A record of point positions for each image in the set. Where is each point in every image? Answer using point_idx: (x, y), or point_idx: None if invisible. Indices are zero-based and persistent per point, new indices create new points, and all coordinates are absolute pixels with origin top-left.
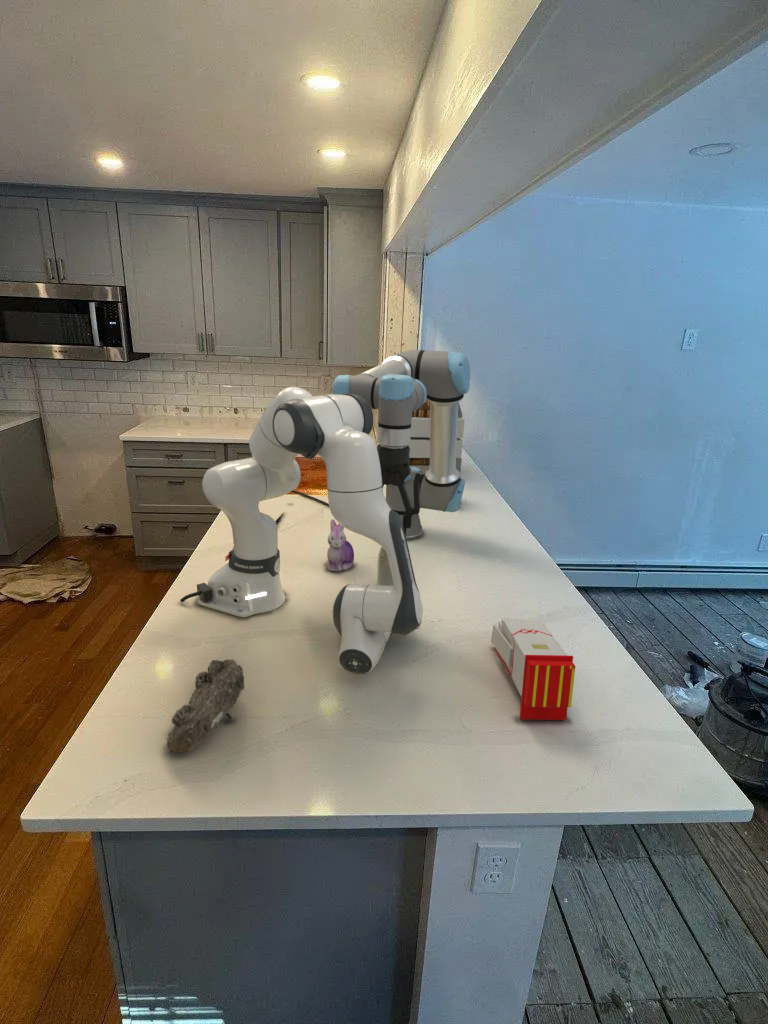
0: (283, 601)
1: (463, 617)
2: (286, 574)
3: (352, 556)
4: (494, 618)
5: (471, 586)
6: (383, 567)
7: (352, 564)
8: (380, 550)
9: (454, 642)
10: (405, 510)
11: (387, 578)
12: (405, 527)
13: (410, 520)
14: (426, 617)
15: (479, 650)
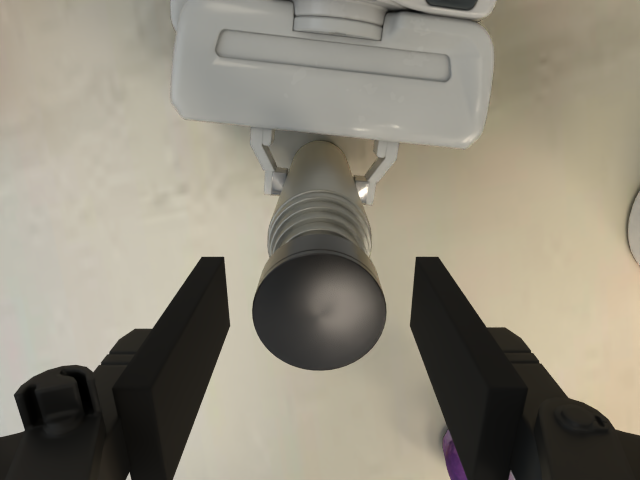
0: (634, 209)
1: (99, 229)
2: (626, 366)
3: (452, 459)
4: (13, 240)
5: None
6: (335, 184)
7: (444, 440)
8: (364, 246)
9: (99, 84)
10: (92, 458)
11: (313, 171)
12: (165, 313)
13: (97, 377)
14: (202, 210)
15: (18, 53)
